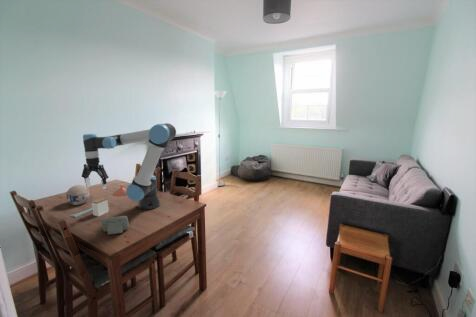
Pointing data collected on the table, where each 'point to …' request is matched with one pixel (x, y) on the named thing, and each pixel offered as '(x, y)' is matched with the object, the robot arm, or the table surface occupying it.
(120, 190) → the ceramic vessels
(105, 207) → the cream block
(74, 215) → the strip
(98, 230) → the table surface
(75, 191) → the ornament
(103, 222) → the digital clock
